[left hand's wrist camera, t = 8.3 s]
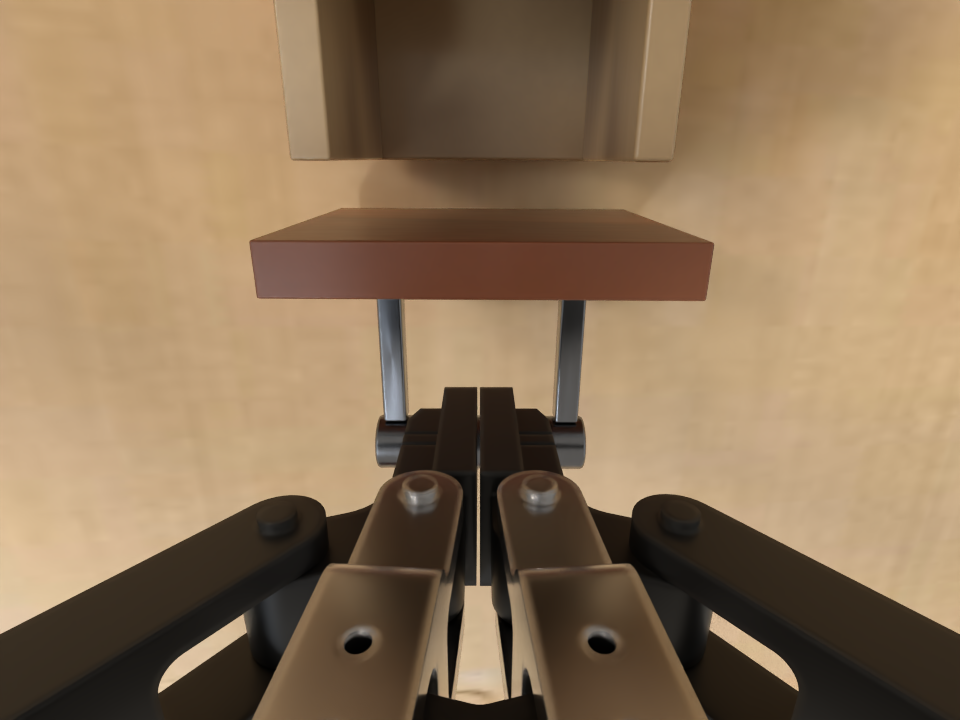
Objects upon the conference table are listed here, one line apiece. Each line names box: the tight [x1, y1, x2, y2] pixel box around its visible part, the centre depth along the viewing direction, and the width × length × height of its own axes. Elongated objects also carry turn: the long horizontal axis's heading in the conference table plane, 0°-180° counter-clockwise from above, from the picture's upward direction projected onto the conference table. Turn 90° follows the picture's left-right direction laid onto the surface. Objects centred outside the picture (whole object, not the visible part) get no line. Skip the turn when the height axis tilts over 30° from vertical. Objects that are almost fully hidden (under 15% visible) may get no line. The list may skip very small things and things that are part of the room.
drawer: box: [250, 0, 714, 469], centre depth 13 cm, size 22×9×8 cm, turn 0°
